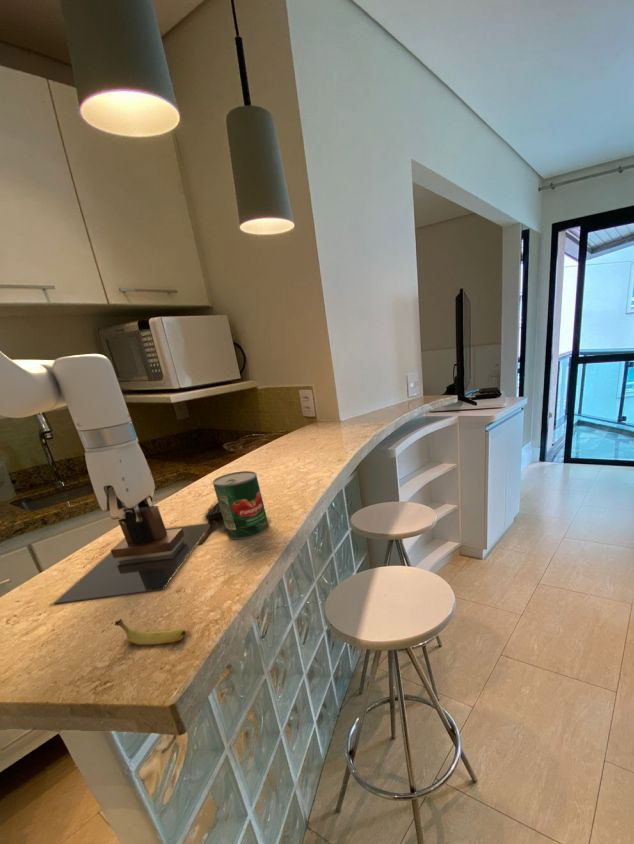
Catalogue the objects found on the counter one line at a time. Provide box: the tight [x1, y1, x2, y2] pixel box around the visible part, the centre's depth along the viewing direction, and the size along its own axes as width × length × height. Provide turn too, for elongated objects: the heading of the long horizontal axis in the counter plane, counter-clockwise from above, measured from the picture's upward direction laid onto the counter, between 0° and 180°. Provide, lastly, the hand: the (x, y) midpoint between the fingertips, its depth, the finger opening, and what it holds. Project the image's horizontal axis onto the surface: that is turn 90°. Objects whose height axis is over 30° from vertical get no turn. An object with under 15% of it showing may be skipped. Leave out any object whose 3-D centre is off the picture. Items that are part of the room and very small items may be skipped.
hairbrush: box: [205, 498, 223, 521], centre depth 94 cm, size 8×4×25 cm
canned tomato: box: [212, 470, 270, 541], centre depth 78 cm, size 8×8×11 cm
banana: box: [114, 618, 186, 646], centre depth 49 cm, size 8×2×4 cm, turn 87°
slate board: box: [53, 522, 214, 605], centre depth 72 cm, size 16×24×1 cm, turn 4°
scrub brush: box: [110, 505, 184, 561], centre depth 72 cm, size 10×6×8 cm, turn 94°
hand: (147, 537), depth 73 cm, fingers closed on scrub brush, 2 cm apart
